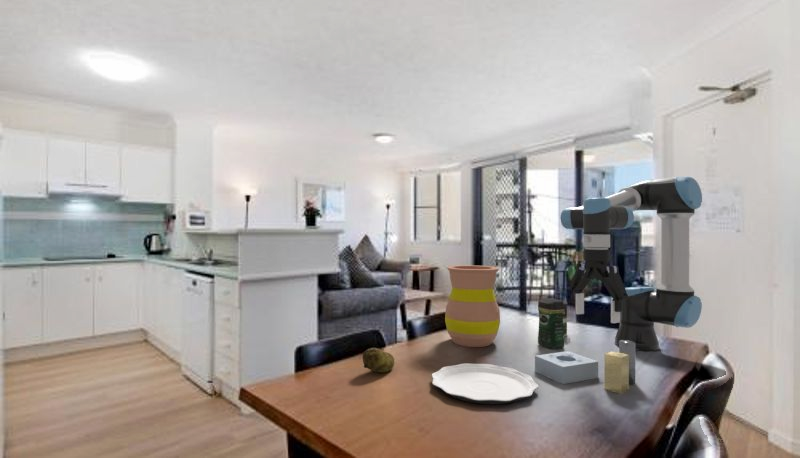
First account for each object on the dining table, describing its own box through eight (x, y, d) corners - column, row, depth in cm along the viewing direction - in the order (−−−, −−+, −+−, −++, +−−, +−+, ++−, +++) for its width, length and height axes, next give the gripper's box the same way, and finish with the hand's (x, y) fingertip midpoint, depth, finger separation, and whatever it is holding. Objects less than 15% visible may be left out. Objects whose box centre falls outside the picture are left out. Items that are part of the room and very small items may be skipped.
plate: (473, 418, 100) (473, 408, 100) (413, 379, 126) (413, 371, 126) (560, 396, 114) (560, 388, 114) (489, 365, 140) (490, 358, 140)
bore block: (568, 366, 139) (568, 351, 139) (598, 377, 128) (598, 361, 128) (534, 371, 134) (534, 355, 134) (563, 384, 123) (563, 366, 123)
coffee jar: (568, 348, 160) (568, 299, 160) (552, 350, 157) (552, 301, 157) (549, 342, 169) (549, 296, 169) (534, 344, 166) (534, 297, 166)
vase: (506, 349, 158) (506, 270, 158) (447, 349, 158) (448, 269, 158) (493, 335, 180) (494, 265, 180) (442, 334, 180) (442, 265, 180)
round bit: (626, 379, 127) (626, 339, 127) (638, 383, 123) (638, 342, 123) (616, 380, 126) (616, 340, 126) (628, 385, 122) (628, 344, 122)
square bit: (612, 385, 122) (612, 351, 122) (628, 390, 118) (628, 354, 118) (604, 389, 119) (604, 353, 119) (621, 394, 115) (621, 357, 115)
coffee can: (569, 337, 177) (570, 304, 177) (544, 336, 179) (544, 303, 179) (564, 331, 187) (564, 300, 187) (540, 330, 189) (540, 299, 189)
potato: (404, 371, 133) (404, 346, 133) (369, 379, 125) (370, 353, 125) (388, 364, 139) (389, 340, 139) (355, 372, 132) (355, 346, 132)
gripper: (557, 247, 138) (557, 311, 138) (622, 250, 115) (622, 328, 115) (575, 246, 141) (575, 309, 141) (642, 250, 118) (642, 325, 118)
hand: (596, 318), depth 128 cm, fingers open, 13 cm apart
